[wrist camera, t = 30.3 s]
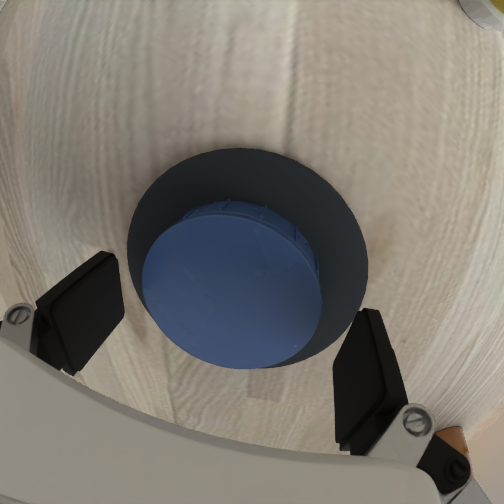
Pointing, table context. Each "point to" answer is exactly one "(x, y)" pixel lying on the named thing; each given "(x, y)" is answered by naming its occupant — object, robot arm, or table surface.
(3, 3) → the vase
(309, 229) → the coaster
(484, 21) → the light bulb
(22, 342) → the robot arm
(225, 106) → the table surface
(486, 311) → the table surface
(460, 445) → the jar
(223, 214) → the lid
